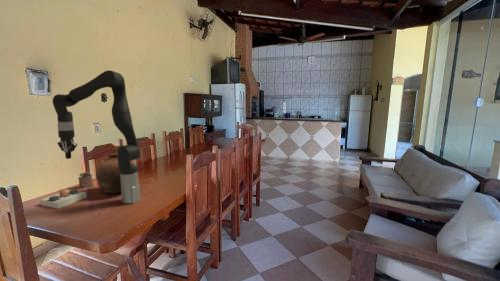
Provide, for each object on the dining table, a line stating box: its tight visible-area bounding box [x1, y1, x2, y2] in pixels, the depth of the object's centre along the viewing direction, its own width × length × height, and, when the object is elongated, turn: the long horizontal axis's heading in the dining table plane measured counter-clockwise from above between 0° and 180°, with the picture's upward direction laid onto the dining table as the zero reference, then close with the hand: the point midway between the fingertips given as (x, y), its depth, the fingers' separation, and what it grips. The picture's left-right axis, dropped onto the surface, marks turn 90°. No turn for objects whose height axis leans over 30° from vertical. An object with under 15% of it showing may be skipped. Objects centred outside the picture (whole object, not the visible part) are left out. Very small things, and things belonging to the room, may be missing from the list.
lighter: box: [77, 171, 94, 190], centre depth 162 cm, size 8×3×10 cm, turn 149°
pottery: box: [95, 153, 136, 194], centre depth 155 cm, size 23×23×25 cm
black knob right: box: [69, 189, 79, 195], centre depth 144 cm, size 4×4×3 cm
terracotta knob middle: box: [58, 188, 69, 197], centre depth 138 cm, size 4×4×3 cm
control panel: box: [39, 189, 88, 209], centre depth 139 cm, size 13×16×3 cm
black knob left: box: [49, 195, 59, 202], centre depth 134 cm, size 4×4×3 cm
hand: (68, 158), depth 143 cm, fingers closed
